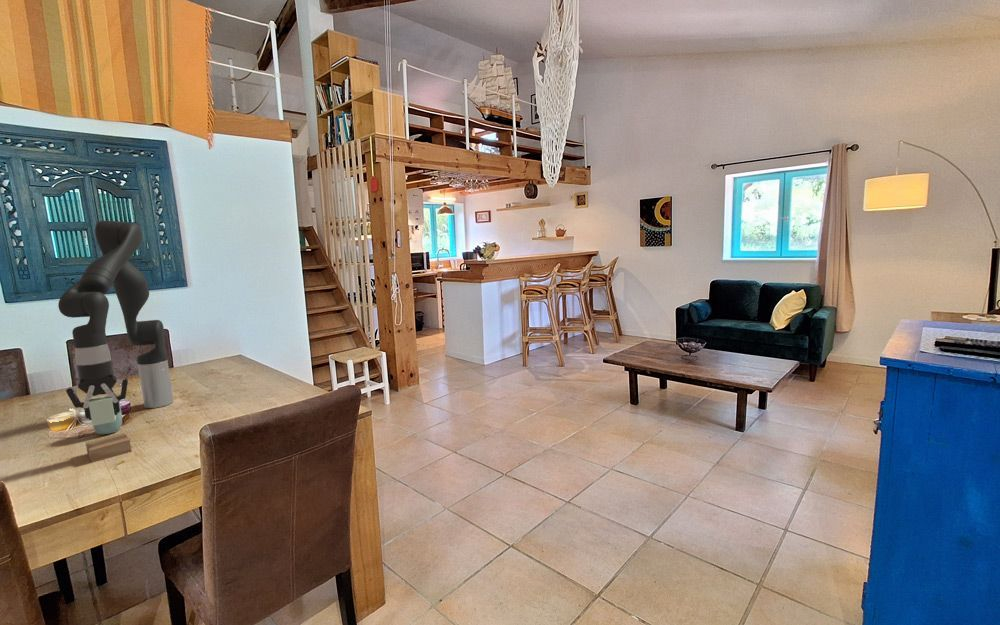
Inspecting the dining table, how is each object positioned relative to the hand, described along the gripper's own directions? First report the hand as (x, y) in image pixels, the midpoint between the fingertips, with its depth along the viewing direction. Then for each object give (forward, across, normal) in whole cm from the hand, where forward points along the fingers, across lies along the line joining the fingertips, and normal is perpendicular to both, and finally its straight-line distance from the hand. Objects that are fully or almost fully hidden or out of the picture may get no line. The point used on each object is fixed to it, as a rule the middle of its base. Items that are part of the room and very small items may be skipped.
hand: (103, 416), depth 134 cm
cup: (+11, +1, -21) cm, 24 cm away
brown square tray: (+12, 0, 0) cm, 12 cm away
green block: (+1, 0, 0) cm, 1 cm away
